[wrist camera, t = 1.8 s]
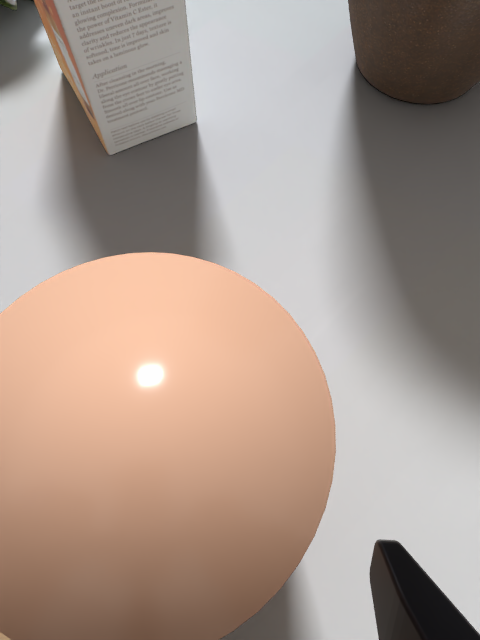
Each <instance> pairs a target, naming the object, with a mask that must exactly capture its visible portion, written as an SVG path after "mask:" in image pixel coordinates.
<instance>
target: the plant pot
mask: <svg viewBox="0 0 480 640" xmlns="http://www.w3.org/2000/svg"><path fill="white" fill-rule="evenodd" d="M348 3H349V12H350V22H351V29H352V36H353V43H354V49H355V56H356V61H357V65H358V67H359V70H360V72H361V73H362V75H363V76H364V77H365V78H366V79H367V81H368V82H369V83H370V84H371V85H373V86H374V87H375V88H377V89H378V90H380V91H381V92H383V93H385V94H386V95H389V96H391V97H393V98H396V99H399V100H403V101H408V102H413V103H423V104H432V103H441V102H446V101H449V100H452V99H455V98H457V97H459V96H461V95H463V94H464V93H465V92H467V91H468V90H469V89H471V88H472V87H473V86H474V85H475V84H476V83H477V82H479V81H480V0H348Z"/></svg>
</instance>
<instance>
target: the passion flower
mask: <svg viewBox="0 0 480 640" xmlns="http://www.w3.org/2000/svg"><path fill="white" fill-rule="evenodd" d="M33 1H34V0H33ZM16 2H17V1H16V0H0V4H1V5H3V6H6V7H8V8H10V9H12V10H17V4H16Z"/></svg>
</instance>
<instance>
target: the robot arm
mask: <svg viewBox="0 0 480 640" xmlns="http://www.w3.org/2000/svg"><path fill="white" fill-rule="evenodd" d="M370 584H371V591H372V597H373V604H374V610H375V617H376V623H377V630H378V636H379V640H480V634H479V633H478V632H477V631H476V630H475V629H474V627H473V626H472V625H471V624H470V623H469V622H468V621H467V619H466V618H465V617H464V616H463V615H462V614H461V612H460V611H459V610H458V609H457V608H456V607H455V606H454V604H453V603H452V602H451V601H450V600H449V599H448V598H447V596H446V595H445V594H444V593H443V592H442V591H441V590H440V588H439V587H438V586H437V585H436V584H435V583H434V581H433V580H432V579H431V578H430V577H429V576H428V575H427V573H426V572H425V571H424V570H423V569H422V568H421V567H420V565H419V564H418V563H417V562H416V561H415V560H414V559H413V557H412V556H411V555H410V554H409V553H408V552H407V551H406V549H405V548H404V547H403V546H402V545H401V544H400V543H399V542H398V541H395V540H377V541H376V543H375V545H374V550H373V556H372V561H371V566H370Z"/></svg>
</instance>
